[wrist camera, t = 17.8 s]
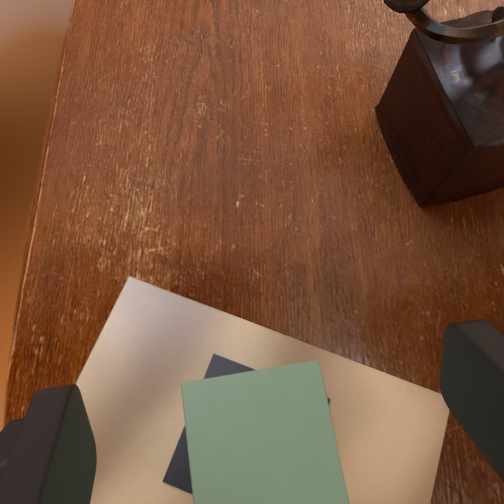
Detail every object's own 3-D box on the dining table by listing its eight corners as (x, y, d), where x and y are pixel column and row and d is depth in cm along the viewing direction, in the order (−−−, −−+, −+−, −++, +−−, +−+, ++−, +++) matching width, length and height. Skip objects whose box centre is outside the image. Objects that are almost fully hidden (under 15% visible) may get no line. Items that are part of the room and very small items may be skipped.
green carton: (210, 501, 24) (197, 545, 15) (197, 400, 26) (180, 382, 17) (305, 483, 25) (352, 514, 15) (287, 384, 26) (319, 359, 17)
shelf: (68, 472, 31) (24, 483, 24) (147, 304, 35) (127, 274, 28) (362, 596, 29) (402, 646, 22) (408, 404, 33) (454, 397, 27)
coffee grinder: (472, 80, 44) (624, -140, 27) (530, 181, 40) (747, 1, 23) (315, 116, 42) (374, -99, 25) (361, 227, 38) (466, 64, 21)
